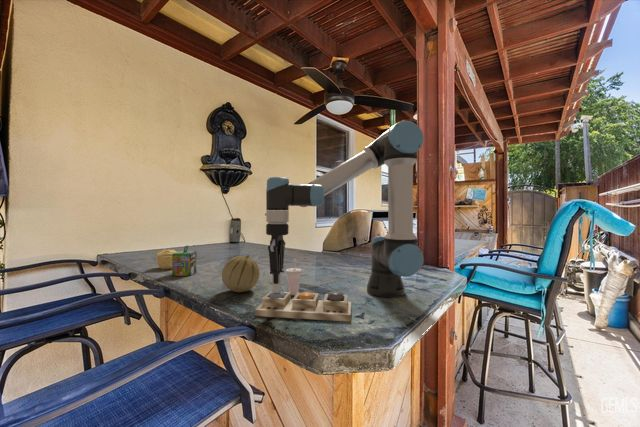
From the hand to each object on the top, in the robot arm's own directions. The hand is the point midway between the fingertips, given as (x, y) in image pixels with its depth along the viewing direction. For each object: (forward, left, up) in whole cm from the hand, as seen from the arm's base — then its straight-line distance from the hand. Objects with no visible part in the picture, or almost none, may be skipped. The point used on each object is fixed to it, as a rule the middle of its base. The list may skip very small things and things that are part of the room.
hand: (276, 292), depth 92 cm
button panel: (-10, +1, -6) cm, 12 cm away
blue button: (0, 0, -3) cm, 3 cm away
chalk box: (+61, -41, -6) cm, 73 cm away
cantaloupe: (+20, -17, -6) cm, 26 cm away
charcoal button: (-20, 0, -2) cm, 20 cm away
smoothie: (-2, -17, -6) cm, 18 cm away
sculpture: (+79, -53, -6) cm, 95 cm away
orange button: (-10, 0, -3) cm, 10 cm away
